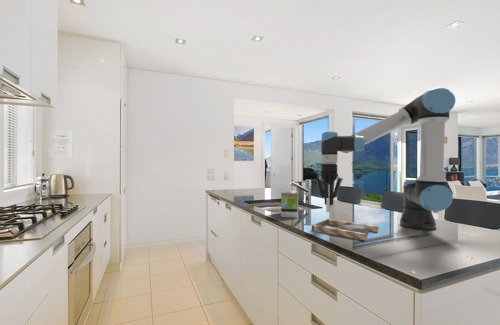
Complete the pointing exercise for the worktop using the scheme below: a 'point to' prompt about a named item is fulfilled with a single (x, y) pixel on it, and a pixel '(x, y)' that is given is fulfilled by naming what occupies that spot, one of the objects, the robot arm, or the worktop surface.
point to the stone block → (354, 228)
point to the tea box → (289, 204)
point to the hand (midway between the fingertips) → (328, 211)
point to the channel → (351, 234)
